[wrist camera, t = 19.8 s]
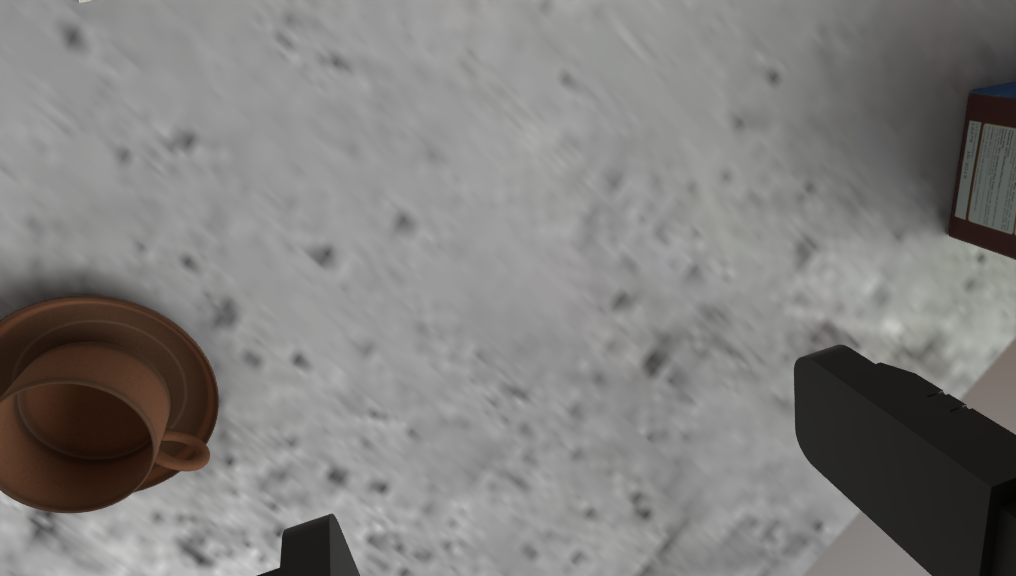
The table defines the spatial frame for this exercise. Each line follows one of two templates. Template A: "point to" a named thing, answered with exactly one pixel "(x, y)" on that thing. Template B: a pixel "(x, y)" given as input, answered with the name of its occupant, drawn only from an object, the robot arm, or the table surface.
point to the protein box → (988, 172)
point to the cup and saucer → (99, 402)
